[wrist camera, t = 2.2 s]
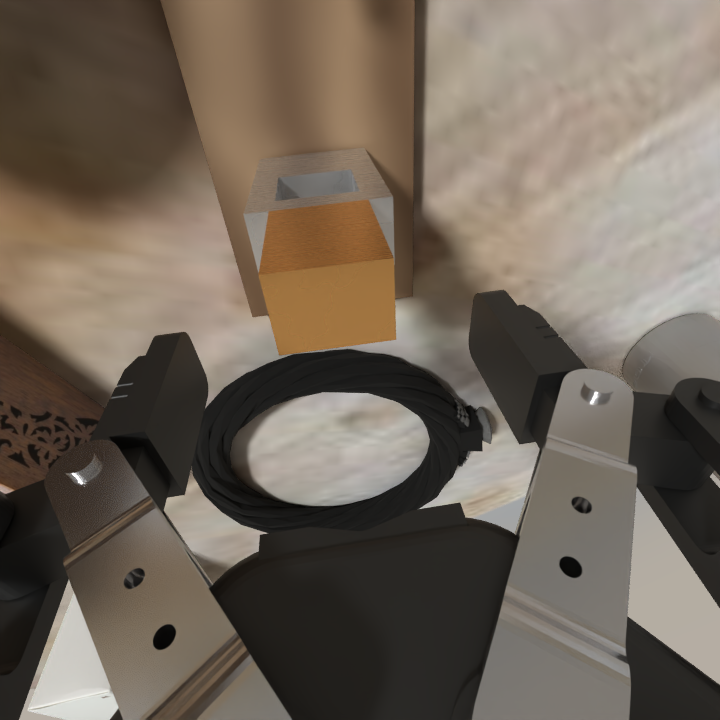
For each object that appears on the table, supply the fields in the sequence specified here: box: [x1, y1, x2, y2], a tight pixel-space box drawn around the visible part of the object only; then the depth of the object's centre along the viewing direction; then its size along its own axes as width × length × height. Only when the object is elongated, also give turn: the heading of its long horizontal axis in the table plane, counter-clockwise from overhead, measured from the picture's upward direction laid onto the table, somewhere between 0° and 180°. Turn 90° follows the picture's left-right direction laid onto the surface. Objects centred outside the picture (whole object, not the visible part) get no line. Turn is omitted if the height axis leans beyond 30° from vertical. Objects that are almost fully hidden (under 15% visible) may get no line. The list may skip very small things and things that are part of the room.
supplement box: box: [28, 593, 118, 720], centre depth 46 cm, size 9×9×15 cm
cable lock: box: [192, 350, 492, 533], centre depth 41 cm, size 28×4×30 cm
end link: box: [243, 147, 396, 355], centre depth 20 cm, size 6×9×15 cm, turn 5°
